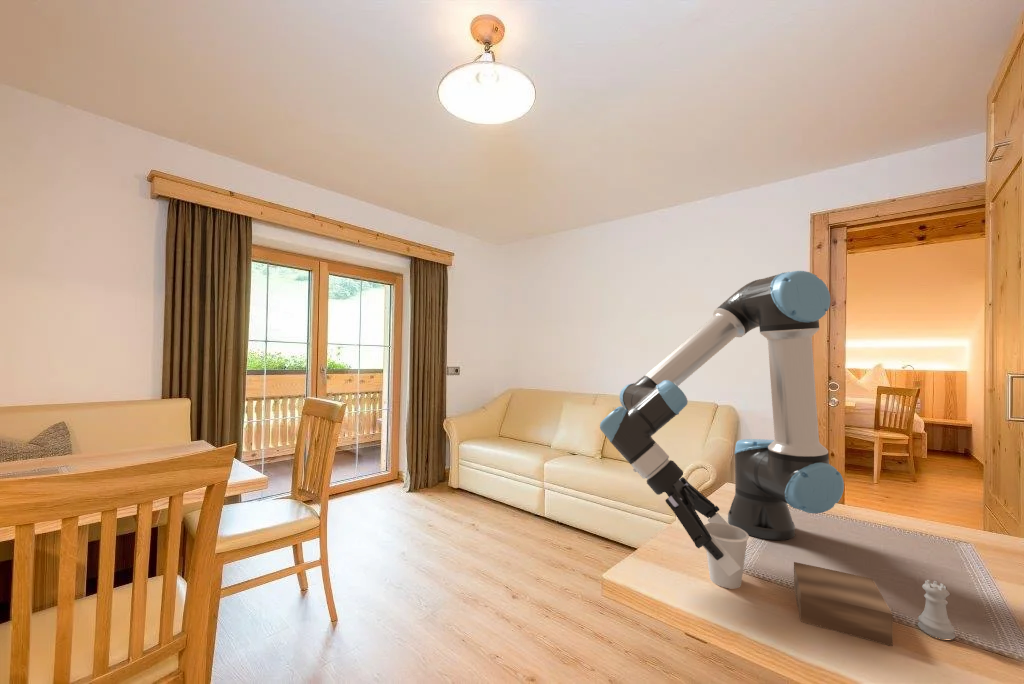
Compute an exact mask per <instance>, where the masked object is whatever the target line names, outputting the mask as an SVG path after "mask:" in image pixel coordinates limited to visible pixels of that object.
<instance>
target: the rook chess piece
mask: <svg viewBox="0 0 1024 684" xmlns="http://www.w3.org/2000/svg"><path fill="white" fill-rule="evenodd" d="M938 583H939V582H938V581H937V580H933V583H932V580H931V579H930V580H929V579H926V580H924V583H923V584H922V585H921V587H922V589H923V590H924V591H925V594H923V596H924V598H925V604H924V609H923V611H922V612H921V614H919V615H918V619H917V620H918V622H917V626H918V627H919V629H920V628H921V629H920V630H921V631H922V632H923V631H924V633H925V634H926V633H927V634H926V635H928V634H929V635H928V636H930V635H931V636H930V637H932V636H934V637H937V638H940V639H939V640H941V639H952V640H954V639H955V638H956V634H955V626H953V624H952V622H951V620H950V619H949V616H948V612H947V611H948V610H947V605H948V604H949V602H948V601H947V600H946V599H947V597H949V596H950V592H949V590H948V589H947V586H946V585H945V584H944V583H940V584H938ZM934 637H933V638H934ZM937 638H936V639H937Z"/></svg>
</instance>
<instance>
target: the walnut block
mask: <svg viewBox="0 0 1024 684" xmlns="http://www.w3.org/2000/svg"><path fill="white" fill-rule="evenodd" d="M793 590H794V594H795V600H796V604H797V605H796V606H797V609H798V614H799V618H800V622H801V623H805V624H808V625H812V626H816V627H819V628H822V629H826V630H830V631H835V632H838V633H841V634H846V635H848V636H853V637H857V638H861V639H864V640H869V641H871V642H875V643H880V644H882V645H887V646H891V647H893V645H894V644H893V642H894V641H893V639H894V638H893V636H894V634H893V626H894V625H893V623H894V622H893V621H894V620H893V613H892V611H891V609H890V607H889V606H888V604H887V601H886V600H885V598H884V596H883V594H882V593H881V591H880V589H879V588H878V585H876V583H875V581H874V578H872V577H867V576H863V575H858V574H852V573H849V572H843V571H839V570H833V569H830V568H829V569H828V568H825V567H821V566H820V567H819V566H815V565H810V564H806V563H800V562H796V561H793Z"/></svg>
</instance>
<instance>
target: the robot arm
mask: <svg viewBox="0 0 1024 684" xmlns="http://www.w3.org/2000/svg"><path fill="white" fill-rule="evenodd" d="M831 301H832V300H831V294H830V291H829V288H828V286H827V284H826V282H824V281H823V279H821V278H819V277H818V276H817V275H816V274H815V273H812V272H809V271H806V270H793V271H787V272H782V273H778V274H775V275H772V276H768V277H764V278H760V279H755V280H753V281H751V282H749V283H746V284H744V285H743V286H742V287H740V288H739V289H738V290H736V291H735V292H734V293H733V294H732V295H731V296H729V297H728V298H727V299H726V300H725V301H724V302H722V303H721V304H720V305H719V306H718V307H716V308H715V309H714V311H713V313H712V315H713V316H712V317H711V318H710V319H709V320H708V321H706V322H705V323H704V324H703V325H701V326H700V327H699V328H698V329H697V330H696V331H695V332H694V333H692V334H691V335H689V336H688V338H686V339H685V340H684V341H683V342H682V343H681V344H680V345H678V346H677V347H676V348H675V349H674V350H673V351H672V352H670V353H669V354H668V355H667V356H665V357H664V358H663V359H662V360H661V361H660V362H659V363H657V364H656V365H655V366H654V367H653V368H651V370H649V371H648V372H647V373H646V374H644V375H643V376H642V377H640V378H639V379H638V380H637V381H636V382H633V383H629V384H626V385H625V386H624V387H623V388H622V389H621V391H620V393H619V401H620V404H621V405H620V406H618V407H615V409H613V410H612V411H611V412H610V413H608V414H607V415H606V416H605V417H604V418H603V419H602V420H601V422H600V424H599V430H600V431H601V432H602V434H604V436H605V437H606V438H607V440H608V441H609V442H610V443H611V444H612V445H613V446H614V448H615V449H616V450H617V452H619V453H620V455H622V457H623V458H624V459H625V460H626V461H627V462H628V463H629V465H630V466H631V467H632V470H633V472H634V473H637V474H638V475H640V477H641V478H642V479H646V484H647V485H648V486H649V488H651V490H652V492H654V494H656V495H658V496H659V495H662V494H663V493H665V494H666V495H667V496H668V497H667V498H666V499H664V501H665V503H666V504H667V506H668V507H670V509H671V511H672V512H673V513H674V514H675V517H677V520H678V521H679V522H680V524H681V525H682V527H683V529H684V530H685V532H686V533H687V534H688V536H689V537H690V539H691V540H692V542H693V544H694V545H695V547H696V548H697V549H700V548H701V547H702V548H703V549H704V550H705V551H706V553H707V552H708V553H709V554H710V555H711V556H712V557H713V559H714V560H715V561H716V562H717V563H718V564H719V565H720V567H721V568H722V569H723V570H724V571H725V572H726V573H727V575H728V576H730V575H732V574H733V573H735V572H736V571H738V570H740V569H741V567H740V565H739V564H738V563H737V562H736V561H735V560H734V559H733V558H732V557H731V555H730V554H729V553H728V552H727V551H726V550H725V549H724V548H723V547H722V545H721V544H720V543H719V542H718V541H717V540H716V539H715V538H714V536H713V537H712V538H711V536H710V534H709V532H708V531H707V529H706V527H705V526H704V525H705V524H704V522H703V520H702V519H701V518H700V516H699V514H701V515H702V516H704V517H705V518H707V522H708V523H724V524H729V525H733V526H736V527H738V528H741V529H742V530H744V531H745V532H746V533H747V534H748V535H749V536H751V537H755V538H760V539H762V540H763V539H765V540H773V541H777V540H778V541H784V540H785V541H786V540H790V539H792V538H794V537H795V535H796V525H795V523H794V521H793V517H792V515H791V511H790V508H789V506H790V507H792V508H793V509H796V510H800V511H802V512H805V513H807V514H812V515H813V514H814V515H815V514H822V513H826V512H828V511H830V510H831V509H833V508H834V507H835V505H836V504H838V503H839V502H840V500H841V499H842V496H843V493H844V490H845V484H844V483H845V481H844V478H843V476H842V474H841V473H840V472H839V471H838V470H837V468H836V467H834V466H833V465H832V464H831V463H830V457H829V449H827V448H826V447H825V446H824V445H822V443H821V442H820V437H819V436H820V434H819V423H818V422H819V421H818V420H819V419H818V408H817V407H818V406H817V393H816V380H815V366H814V354H813V353H814V352H813V351H814V350H813V337H814V335H815V334H816V333H818V331H820V319H823V317H824V316H825V315H826V314H827V313H826V312H827V311H829V310H830V307H831ZM756 328H759V334H760V335H762V336H763V337H764V338H766V340H767V346H768V347H767V349H768V361H769V362H768V363H769V376H770V377H769V380H770V390H771V406H772V420H773V422H772V423H773V433H774V436H773V437H774V439H761V438H759V439H758V438H754V439H753V438H744V439H738V440H737V441H736V443H735V449H734V467H735V468H734V470H735V474H734V475H735V479H734V481H735V484H734V486H735V488H734V489H735V491H734V492H735V493H734V497H733V500H732V502H731V505H730V507H729V510H728V511H727V512H728V513H727V521H726V520H725V519H724V517H722V515H720V514H719V511H720V508H719V507H718V506H717V505H715V504H714V503H713V502H712V501H711V500H709V499H708V498H707V497H706V496H705V495H704V494H703V493H702V492H700V491H699V490H697V488H695V486H693V485H692V484H691V483H689V481H687V479H686V478H685V477H684V472H683V471H684V470H682V469H681V468H680V466H678V464H677V463H676V462H675V461H674V460H671V459H670V456H669V454H668V453H667V452H666V451H665V450H664V449H663V448H662V447H661V446H660V445H659V444H658V443H657V442H656V441H655V440H654V439H653V437H652V436H653V435H655V434H656V433H657V432H658V431H659V430H661V428H663V427H665V425H666V424H667V423H669V422H670V421H671V420H672V419H674V417H676V416H677V415H678V416H679V414H680V412H681V411H682V410H683V409H685V407H687V405H688V398H687V396H686V394H685V393H684V392H683V390H682V389H681V388H680V385H682V383H684V382H685V381H686V380H687V379H688V378H689V377H690V376H692V375H693V374H694V373H695V372H697V371H698V369H700V368H702V366H704V365H705V364H706V363H707V362H708V361H709V360H711V358H713V357H714V356H715V355H716V354H717V353H719V351H721V350H722V349H723V348H725V347H726V346H727V345H728V344H729V343H730V342H731V341H733V340H734V339H735V338H743V337H744V336H745V335H746V334H747V333H749V332H750V331H752V330H754V329H756ZM698 513H699V514H698Z"/></svg>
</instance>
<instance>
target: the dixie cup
mask: <svg viewBox="0 0 1024 684" xmlns="http://www.w3.org/2000/svg"><path fill="white" fill-rule="evenodd" d="M704 526H705V527H706V529H707V531H708V532H709V534H710V536H711V538H712V537H713V536H714V538H715V539H716V540H717V541H718V542H719V543H720V544H721V545H722V547H723V548H724V549H725V550H726V551H727V552H728V553H729V554H730V555H731V557H732V558H733V559H734V560H735V561H736V562H737V563H738V564H739V565H740V567H741V569H740V570H738V571H736V572H735V573H733V574H732V575H730V576H728V575H727V573H726V572H725V571H724V570H723V569H722V568H721V567H720V565H719V564H718V563H717V562H716V561H715V560H714V559H713V557H712V556H711V555H710V554H709V553H708V552H707V551H706V558H707V565H708V566H707V567H708V572H709V574H708V575H709V579H710V581H711V582H712V583H713V584H715V585H716V586H719V587H722V588H726V589H733V590H735V589H738V588H740V587H741V585H742V581H743V573H744V567H745V559H746V552H747V545H748V540H749V538H750V535H748V534H747V533H746V532H745V531H744V530H742V529H741V528H738V527H736V526H733V525H729V523H728V524H724V523H709V522H708V523H706V524H704Z"/></svg>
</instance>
